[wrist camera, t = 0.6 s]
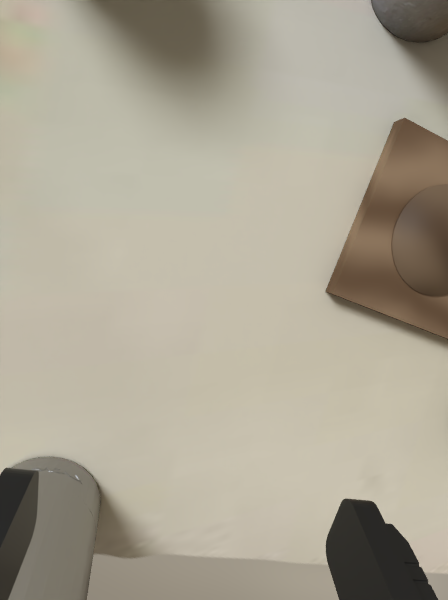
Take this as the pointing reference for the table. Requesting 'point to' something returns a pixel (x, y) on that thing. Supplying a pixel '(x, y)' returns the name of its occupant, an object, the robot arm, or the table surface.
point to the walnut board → (401, 234)
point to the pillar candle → (413, 18)
